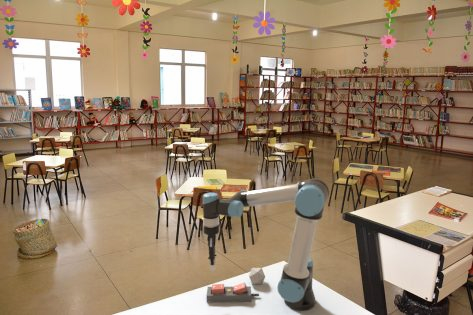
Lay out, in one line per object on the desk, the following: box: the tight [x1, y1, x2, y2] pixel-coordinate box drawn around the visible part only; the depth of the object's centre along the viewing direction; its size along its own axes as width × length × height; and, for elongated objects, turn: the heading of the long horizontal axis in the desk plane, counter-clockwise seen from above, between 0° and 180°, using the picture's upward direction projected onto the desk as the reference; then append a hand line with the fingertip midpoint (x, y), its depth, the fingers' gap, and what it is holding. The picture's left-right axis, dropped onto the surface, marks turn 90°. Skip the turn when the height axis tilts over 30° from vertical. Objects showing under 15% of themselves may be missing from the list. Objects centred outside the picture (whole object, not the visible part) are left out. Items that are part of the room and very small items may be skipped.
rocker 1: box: [211, 283, 225, 294], centre depth 186 cm, size 6×4×2 cm
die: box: [248, 267, 266, 285], centre depth 199 cm, size 8×9×10 cm
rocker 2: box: [233, 282, 247, 294], centre depth 186 cm, size 6×4×2 cm
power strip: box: [206, 285, 260, 303], centre depth 186 cm, size 26×8×4 cm, turn 90°
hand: (212, 269), depth 183 cm, fingers closed
